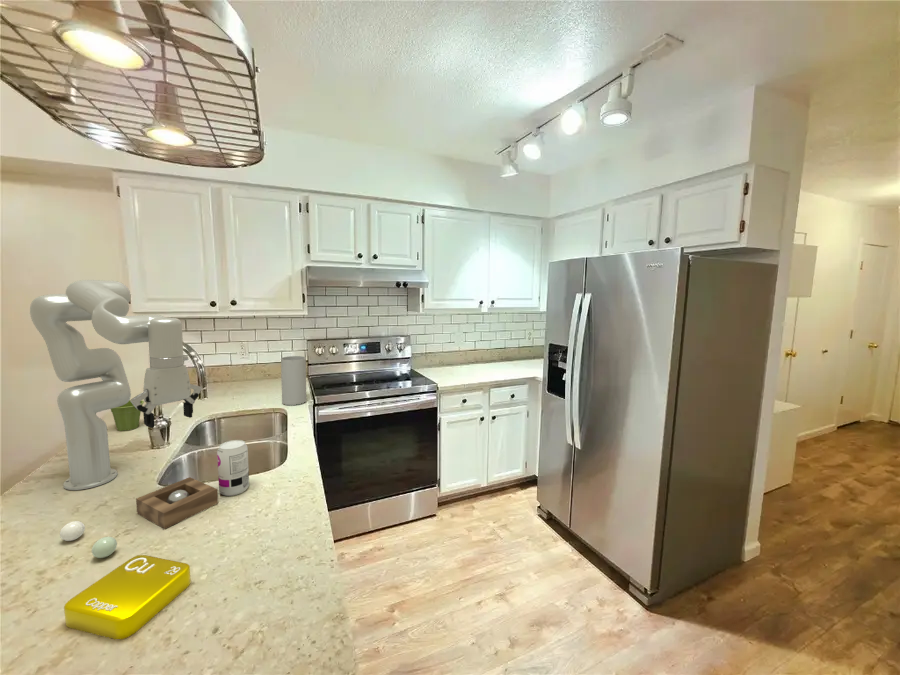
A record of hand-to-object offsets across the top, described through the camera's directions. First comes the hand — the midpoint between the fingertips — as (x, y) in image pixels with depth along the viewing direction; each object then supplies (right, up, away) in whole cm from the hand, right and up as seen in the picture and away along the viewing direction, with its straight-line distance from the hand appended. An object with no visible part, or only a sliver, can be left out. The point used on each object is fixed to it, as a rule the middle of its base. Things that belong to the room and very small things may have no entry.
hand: (169, 421), depth 108 cm
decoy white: (-15, -24, -13) cm, 31 cm away
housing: (+2, -25, +1) cm, 25 cm away
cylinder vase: (-7, -12, +102) cm, 103 cm away
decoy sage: (-2, -25, -19) cm, 32 cm away
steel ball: (+2, -23, +1) cm, 23 cm away
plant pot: (-62, -16, +59) cm, 87 cm away
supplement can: (+12, -24, +12) cm, 29 cm away
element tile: (+15, -30, -31) cm, 46 cm away
